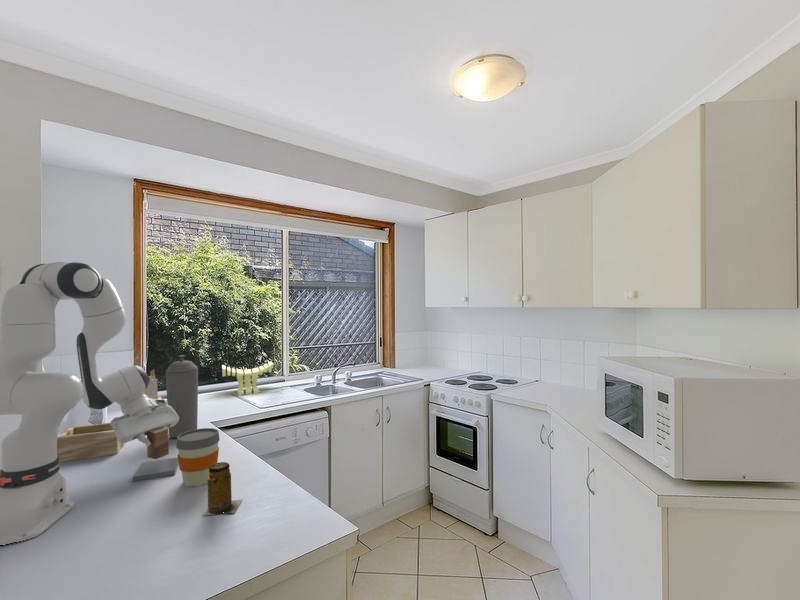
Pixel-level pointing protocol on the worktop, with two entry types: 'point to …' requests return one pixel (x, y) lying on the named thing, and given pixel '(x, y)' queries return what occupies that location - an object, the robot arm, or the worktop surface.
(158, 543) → the worktop surface
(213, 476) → the condiment
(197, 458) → the reusable coffee cup
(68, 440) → the bamboo organizer
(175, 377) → the canister
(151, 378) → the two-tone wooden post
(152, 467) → the slate coaster
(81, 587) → the worktop surface
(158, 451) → the walnut block
